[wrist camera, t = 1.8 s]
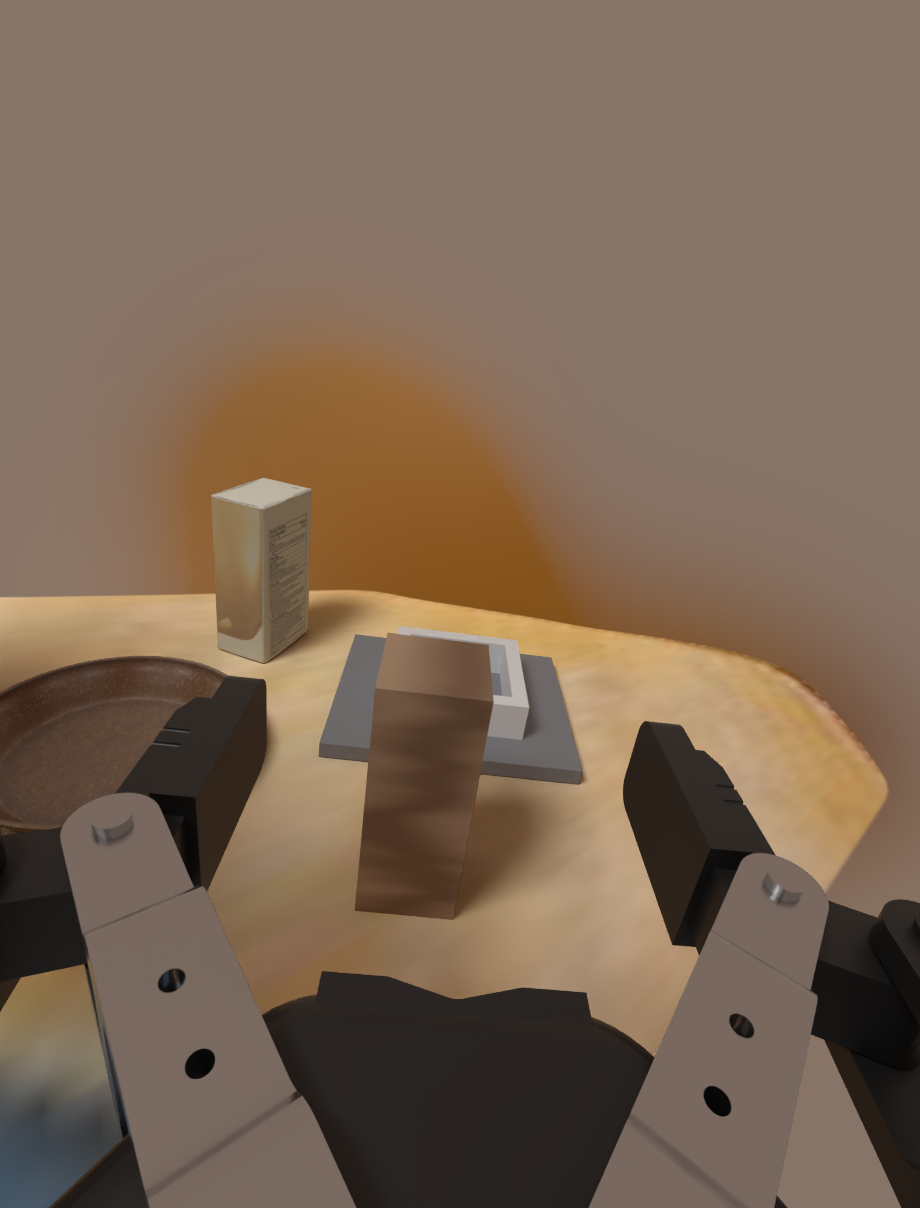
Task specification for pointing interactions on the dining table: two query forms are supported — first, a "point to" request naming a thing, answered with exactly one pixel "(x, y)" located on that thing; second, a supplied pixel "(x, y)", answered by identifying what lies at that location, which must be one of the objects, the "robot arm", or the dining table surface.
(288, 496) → the skincare box
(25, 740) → the saucer
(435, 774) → the walnut square peg
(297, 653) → the dining table surface
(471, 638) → the collar holder
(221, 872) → the dining table surface
